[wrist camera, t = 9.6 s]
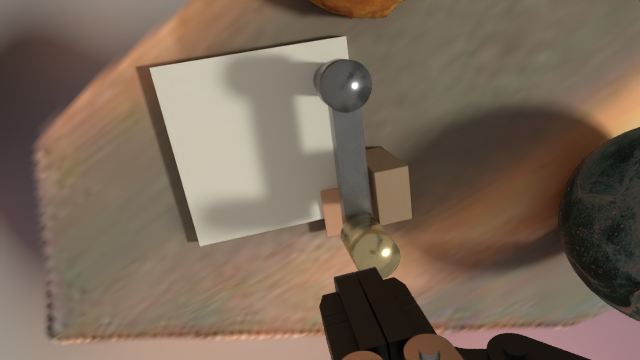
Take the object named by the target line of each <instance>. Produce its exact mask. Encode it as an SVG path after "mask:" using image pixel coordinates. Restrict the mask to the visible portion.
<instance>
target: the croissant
mask: <svg viewBox="0 0 640 360" xmlns="http://www.w3.org/2000/svg"><path fill="white" fill-rule="evenodd" d="M310 1H312V2H313V3H314V4H316V5H317V6H319V7H321V8H323V9H325V10H327V11H330V13H335V14H341V15H346V16H347V17H349V18H350V19H352V18H354V17H355V18H361V19H363V18H370V19H377V18H382V17H386V16H387V15H388V14H389V13H390V12H391V11H392V10H393V9H394V8H395V6H396V5H397V4H399V3H401V2H402V1H404V0H310Z"/></svg>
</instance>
